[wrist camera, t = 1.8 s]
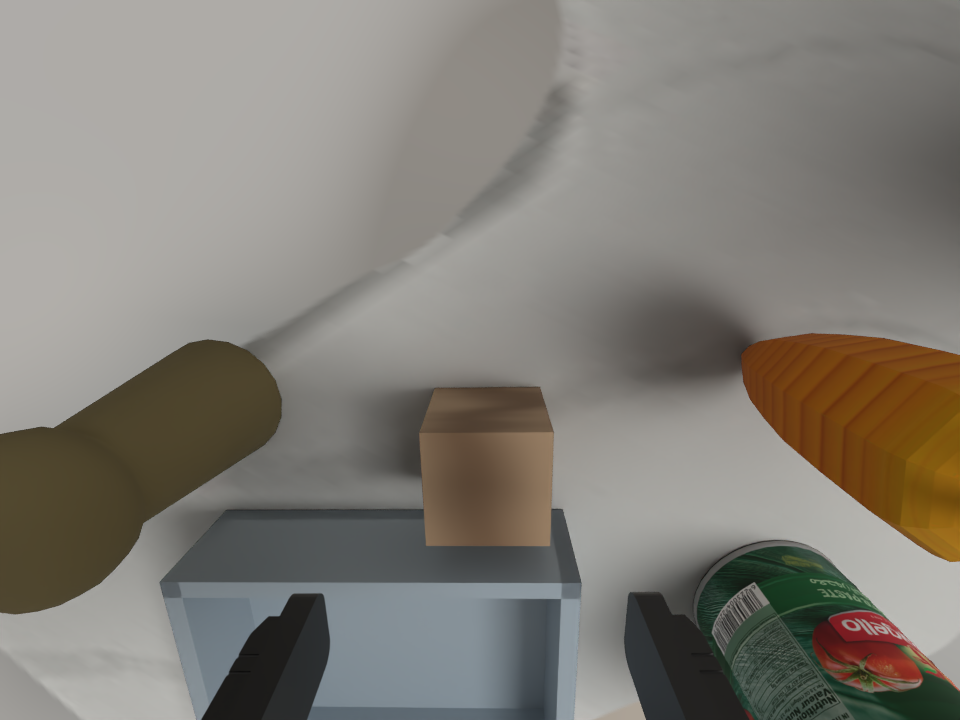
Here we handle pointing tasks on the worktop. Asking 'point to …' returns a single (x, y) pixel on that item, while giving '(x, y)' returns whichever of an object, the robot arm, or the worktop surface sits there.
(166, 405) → the cork
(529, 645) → the tote
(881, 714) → the canned tomato
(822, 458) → the carrot
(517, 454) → the walnut cube
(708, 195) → the worktop surface
